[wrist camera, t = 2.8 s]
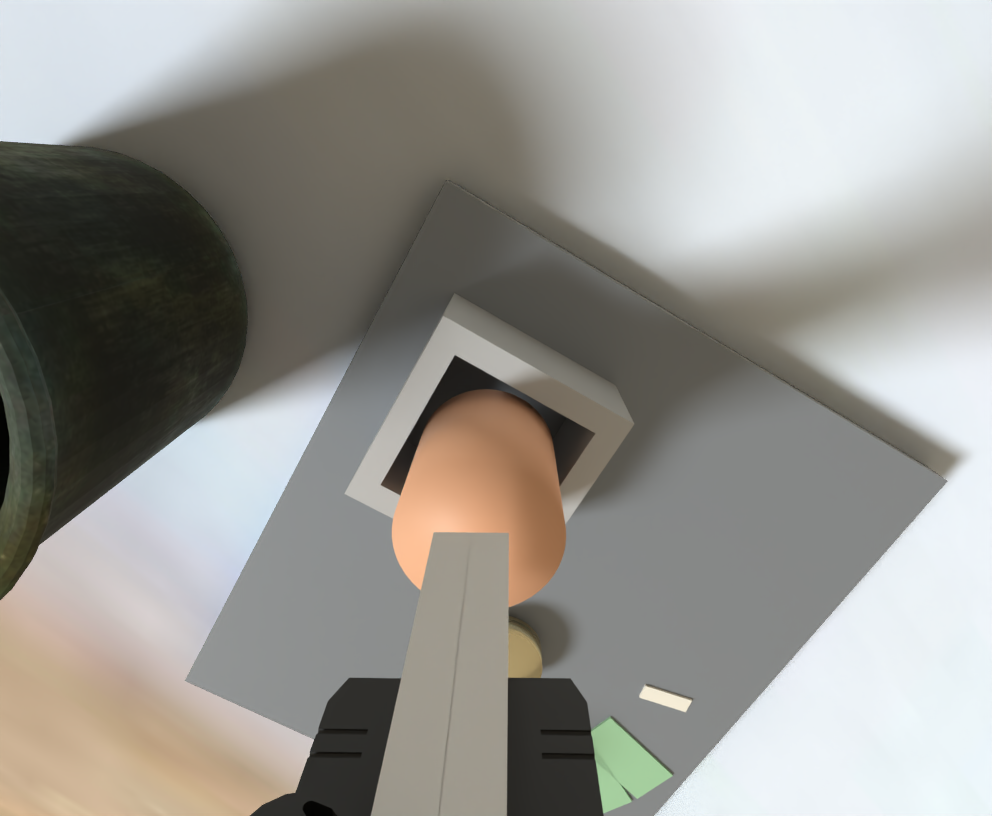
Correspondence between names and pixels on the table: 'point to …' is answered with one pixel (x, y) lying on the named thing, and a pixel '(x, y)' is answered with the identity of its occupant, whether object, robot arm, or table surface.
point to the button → (485, 487)
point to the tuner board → (572, 505)
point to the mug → (101, 330)
